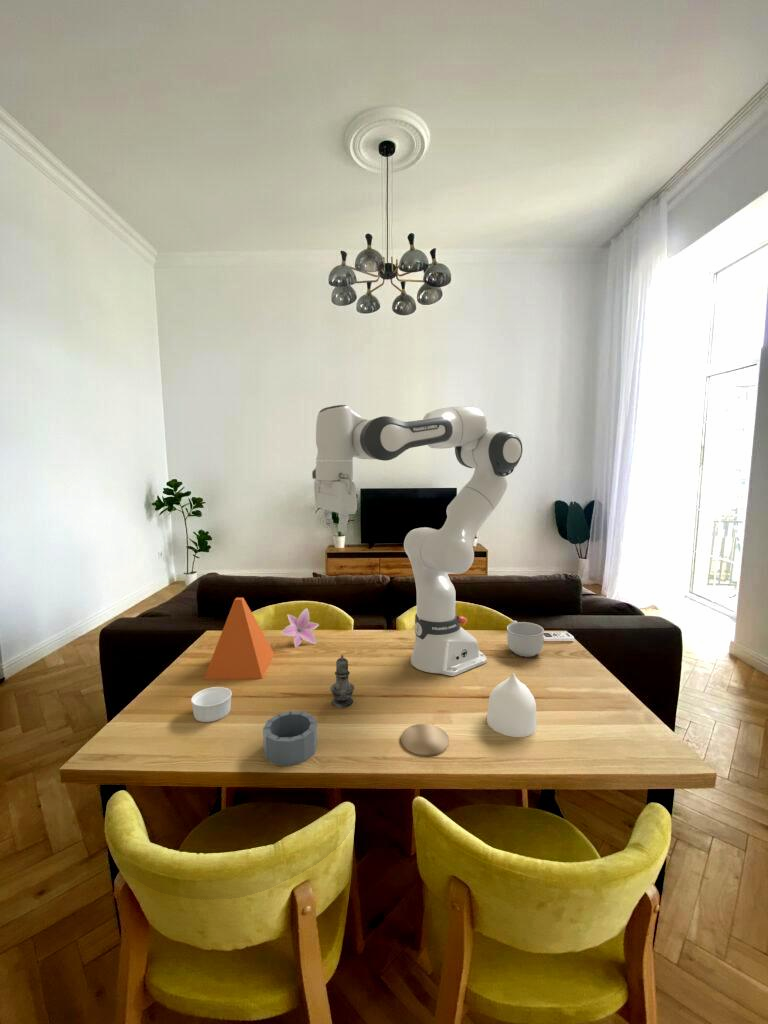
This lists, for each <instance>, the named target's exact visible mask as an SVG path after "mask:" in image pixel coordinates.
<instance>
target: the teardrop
mask: <svg viewBox="0 0 768 1024" xmlns="http://www.w3.org/2000/svg"><path fill="white" fill-rule="evenodd" d="M487 705H488V706H487V715H486V716H487V717H486V722H487V724H488V726H489V727H490V728H491V729H492V730H493V731H495V732H498V733H499V734H501V735H504V736H508V737H513V738H525V737H528V736H532V735H533V734H534V733H535V732H536V731H537V730H538V729H537V727H538V725H537V722H538V721H537V720H538V719H537V704H536V699H535V697H534V695H533V693H532V692H531V691H530V689H529V687H527V685H526V684H524V683H523V682H521V681H520V680H519V679H518V678H517V677H516V674H515V673H514V672H512V673H511V676H510V677H508V678H507V679H504V680H503V681H502V682H500V683H498V684H497V685H496V686H495V687H494V688H493V690H492V691H491V693H490V694H489V697H488V704H487Z"/></svg>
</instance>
